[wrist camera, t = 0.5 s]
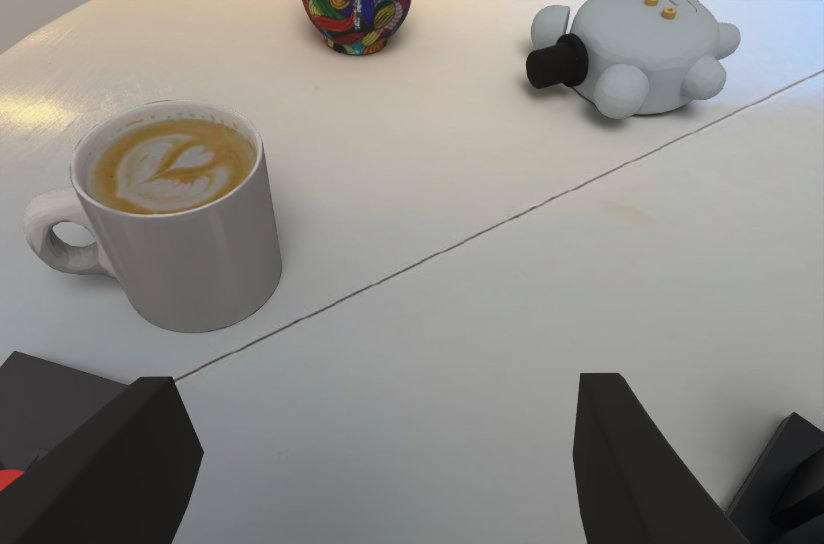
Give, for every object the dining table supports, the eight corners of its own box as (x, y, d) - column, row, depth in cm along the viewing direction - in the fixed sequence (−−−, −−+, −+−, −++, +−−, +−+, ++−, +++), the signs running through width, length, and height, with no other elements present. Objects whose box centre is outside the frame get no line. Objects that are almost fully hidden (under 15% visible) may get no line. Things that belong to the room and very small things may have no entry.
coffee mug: (282, 215, 43) (266, 97, 35) (280, 327, 37) (260, 213, 29) (88, 223, 41) (27, 100, 34) (52, 342, 35) (-34, 225, 27)
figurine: (647, 22, 66) (486, 66, 61) (671, -58, 59) (493, -15, 55) (758, 111, 56) (575, 170, 51) (803, 27, 49) (597, 87, 45)
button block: (58, 642, 26) (22, 629, 23) (-141, 569, 27) (-196, 548, 24) (189, 415, 33) (174, 385, 30) (27, 365, 34) (-1, 332, 31)
